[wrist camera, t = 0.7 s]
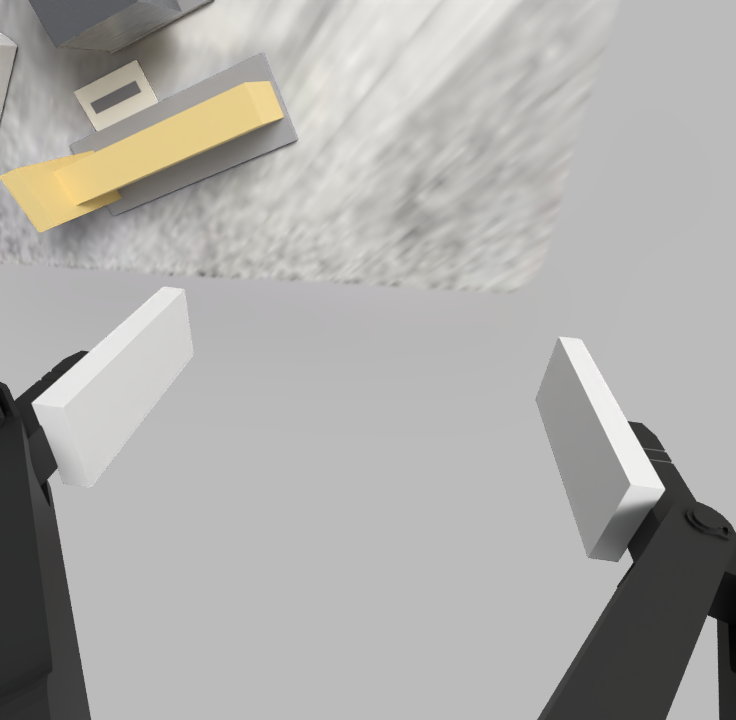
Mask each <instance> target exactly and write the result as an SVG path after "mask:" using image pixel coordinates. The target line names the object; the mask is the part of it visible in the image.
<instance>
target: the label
mask: <svg viewBox="0 0 736 720" xmlns="http://www.w3.org/2000/svg"><path fill="white" fill-rule="evenodd" d="M74 94H75V95H76V97H77V99H78V101H79V102H80V104H81V106H82V107H83V109H84V111H85V112H86V114H87V116H88V117H89V119H90V121H91V123H92V124H93V126H94V128H95V129H96V131H97V132H98V131H100V130H102V129H104V128H106V127H109V126H111V125H113V124H115V123H117V122H119V121H121V120H123V119H125V118H127V117H129V116H131V115H133V114H135V113H138V112H140V111H142V110H144V109H146V108H148V107H150V106H152V105H154V104H156V103H158V100H157V98H156V96H155V94H154V92H153V90H152V88H151V86H150V84H149V82H148V80H147V78H146V77H145V75H144V73H143V71H142V69H141V67H140V65H139V63H138V61H137V60H134V61H132V62H131V63H129V64H127V65H125V66H123V67H121V68H119V69H117V70H115V71H113V72H111V73H109V74H107V75H106V76H104V77H102V78H100V79H98V80H96V81H94V82H92V83H90V84H88V85H86V86H84V87H82V88H81V89H79V90H77V91H75V92H74Z"/></svg>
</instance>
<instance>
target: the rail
mask: <svg viewBox="0 0 736 720" xmlns="http://www.w3.org/2000/svg"><path fill="white" fill-rule="evenodd" d="M295 140H298V137H297V135H296V132H295V130H294V127H293V125H292V122H291V120H290V117H289V115H288V112H287V110H286V107H285V105H284V102H283V100H282V97H281V95H280V92H279V90H278V87H277V85H276V82H275V80H274V77H273V75H272V72H271V70H270V67H269V65H268V62H267V60H266V57H265V55H264V53H260V54H258V55H256V56H254V57H252V58H250V59H247V60H245V61H243V62H241V63H239V64H237V65H235V66H233V67H231V68H229V69H227V70H225V71H223V72H221V73H218V74H216V75H214V76H212V77H210V78H208V79H206V80H204V81H202V82H200V83H198V84H196V85H194V86H191V87H189V88H187V89H185V90H183V91H181V92H179V93H177V94H175V95H173V96H171V97H169V98H167V99H165V100H162V101H160V102H158V103H156V104H154V105H152V106H150V107H148V108H146V109H144V110H142V111H140V112H138V113H135V114H133V115H131V116H129V117H127V118H125V119H123V120H121V121H119V122H117V123H115V124H113V125H111V126H109V127H106V128H104V129H102V130H100V131H98V132H96V133H94V134H92V135H90V136H88V137H86V138H84V139H82V140H79V141H77V142H75V143H73V144H71V145H69V146H70V148H71V150H72V151H73V153H74V154H75V155H71V156H67V157H63V158H59V159H55V160H50V161H46V162H42V163H38V164H33V165H29V166H25V167H21V168H17V169H14V170H12V171H10V172H8V173H6V174H4V175H2V176H0V179H1V180H2V181H3V183H4V184H5V186H6V187H7V188H8V190H9V191H10V193H11V194H12V195H13V197H14V198H15V200H16V201H17V202H18V204H19V205H20V207H21V208H22V209H23V211H24V212H25V214H26V215H27V216H28V218H29V219H30V220H31V222H32V223H33V225H34V226H35V227H36V229H37V230H38V232H39V233H41V232H43V231H46V230H48V229H50V228H53V227H55V226H58V225H60V224H62V223H65V222H67V221H70V220H72V219H74V218H77V217H79V216H81V215H84V214H86V213H89V212H91V211H93V210H96V209H98V208H101V207H103V206H105V205H106V206H107V207H108V209H109V210H110V212H111V214H112V215H113V216H115V215H117V214H120V213H122V212H125V211H127V210H129V209H132V208H134V207H137V206H139V205H141V204H144V203H146V202H149V201H151V200H153V199H156V198H158V197H161V196H163V195H165V194H168V193H170V192H173V191H175V190H178V189H180V188H182V187H185V186H187V185H190V184H192V183H194V182H197V181H199V180H202V179H204V178H206V177H209V176H211V175H214V174H216V173H218V172H221V171H223V170H226V169H228V168H230V167H233V166H235V165H238V164H240V163H243V162H245V161H247V160H250V159H252V158H255V157H257V156H259V155H262V154H264V153H267V152H269V151H271V150H274V149H276V148H279V147H281V146H283V145H286V144H288V143H291V142H293V141H295Z"/></svg>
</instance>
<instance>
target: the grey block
mask: <svg viewBox="0 0 736 720" xmlns="http://www.w3.org/2000/svg"><path fill="white" fill-rule="evenodd" d="M29 2H30V4H31V5H32V7H33V9H34V11H35V12H36V14H37V16H38V17H39V19H40V21H41V23H42V24H43V26H44V28H45V29H46V31H47V33H48V35H49V36H50V38H51V40H52V41H53V43H54V45H55V47H59V48H74V49H89V50H104V51H110V50H112V49H114V48H116V47H118V46H120V45H122V44H124V43H125V42H127V41H129V40H131V39H133V38H135V37H137V36H138V35H140V34H142V33H144V32H146V31H148V30H150V29H151V28H153V27H155V26H157V25H159V24H161V23H163V22H164V21H166V20H168V19H170V18H172V17H174V16H176V15H178V14H179V13H181V12H182V10H181V8H180V6H179V4H178V2H177V0H29Z"/></svg>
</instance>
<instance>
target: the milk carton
mask: <svg viewBox="0 0 736 720" xmlns="http://www.w3.org/2000/svg"><path fill="white" fill-rule="evenodd" d="M16 48H17V45H16V44H15V43H14V42H13V41H12V40H10V39H9V38H7V37H6V36H5V35H3V34H2V33H1V32H0V118H1V114H2V109H3V105H4V101H5V96H6V92H7V88H8V83H9V79H10V75H11V70H12V66H13V61H14V57H15V53H16Z"/></svg>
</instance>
